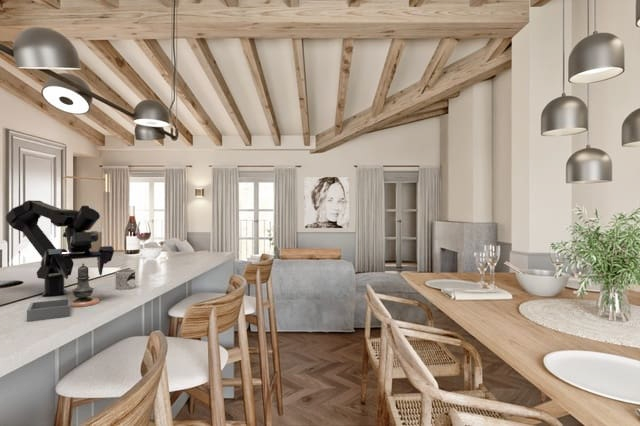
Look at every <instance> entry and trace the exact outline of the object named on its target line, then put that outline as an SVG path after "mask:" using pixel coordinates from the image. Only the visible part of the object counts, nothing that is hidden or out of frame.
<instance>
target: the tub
mask: <svg viewBox="0 0 640 426" xmlns="http://www.w3.org/2000/svg"><path fill="white" fill-rule="evenodd" d="M71 300H72V298H64V299H63V298H62V299H54V300H53V299H52V300H44V301H35V302H34V301H33V302H30V304H29V306H28V308H27V310H26V322H28V323H29V322H35V321H44V320H51V319H58V318H60V319H61V318H65V317H71V311H72V307H71Z"/></svg>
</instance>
